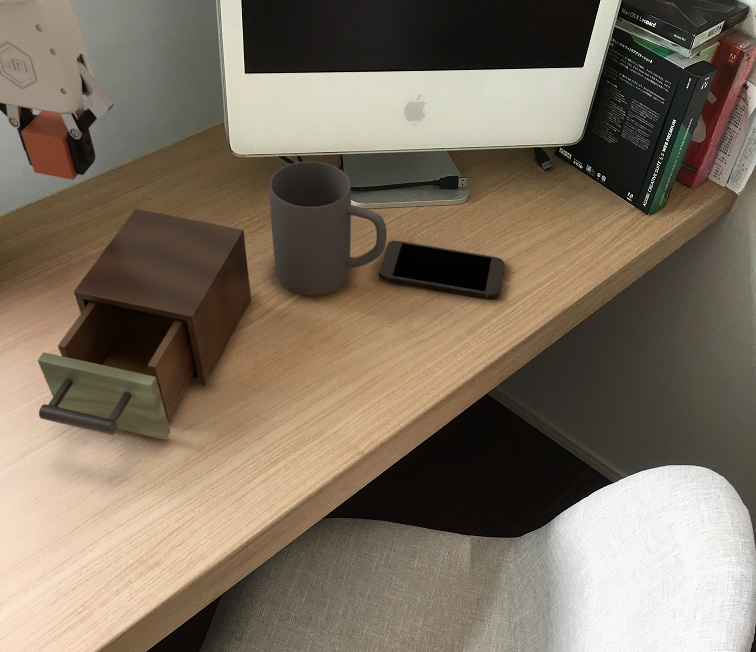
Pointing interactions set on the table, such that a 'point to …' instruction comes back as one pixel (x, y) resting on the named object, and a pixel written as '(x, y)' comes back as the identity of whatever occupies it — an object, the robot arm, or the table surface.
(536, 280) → the table surface
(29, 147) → the block
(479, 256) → the smartphone
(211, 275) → the cabinet
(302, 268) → the mug
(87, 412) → the drawer
